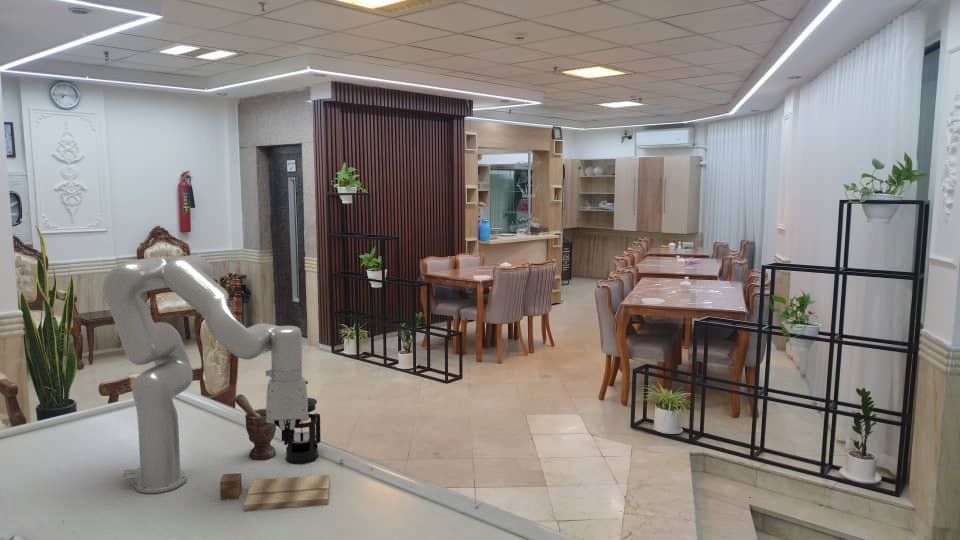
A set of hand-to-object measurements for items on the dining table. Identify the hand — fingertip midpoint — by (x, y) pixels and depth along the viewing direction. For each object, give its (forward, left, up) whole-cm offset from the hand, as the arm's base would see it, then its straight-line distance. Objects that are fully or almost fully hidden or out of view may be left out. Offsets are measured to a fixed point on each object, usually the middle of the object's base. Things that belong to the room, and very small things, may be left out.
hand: (287, 443), depth 172 cm
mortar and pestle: (-11, +24, -13) cm, 29 cm away
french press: (+2, +22, -13) cm, 25 cm away
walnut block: (-14, -1, -13) cm, 19 cm away
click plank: (0, 0, -13) cm, 12 cm away
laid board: (0, -7, -13) cm, 15 cm away
